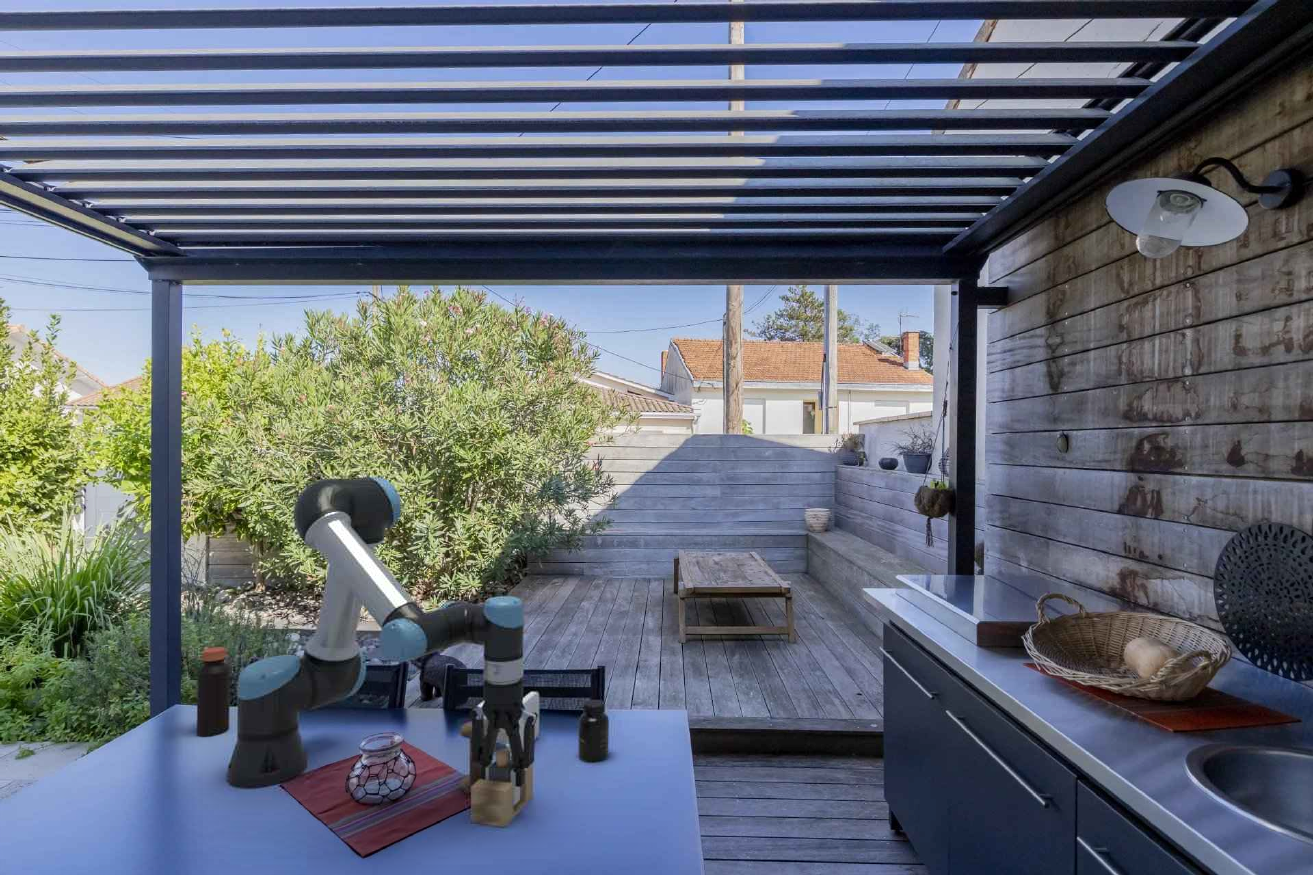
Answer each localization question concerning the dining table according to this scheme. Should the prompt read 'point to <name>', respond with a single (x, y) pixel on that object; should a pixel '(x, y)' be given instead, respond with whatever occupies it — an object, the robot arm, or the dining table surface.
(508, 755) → the gray block with knob
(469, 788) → the bobbin
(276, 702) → the robot arm
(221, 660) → the vinegar
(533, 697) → the cable organizer
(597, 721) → the supplement bottle
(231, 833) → the dining table surface
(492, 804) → the wooden u-shaped block
